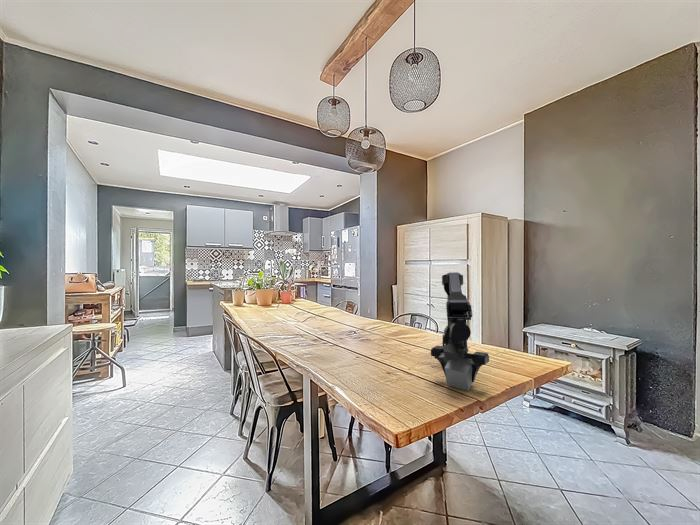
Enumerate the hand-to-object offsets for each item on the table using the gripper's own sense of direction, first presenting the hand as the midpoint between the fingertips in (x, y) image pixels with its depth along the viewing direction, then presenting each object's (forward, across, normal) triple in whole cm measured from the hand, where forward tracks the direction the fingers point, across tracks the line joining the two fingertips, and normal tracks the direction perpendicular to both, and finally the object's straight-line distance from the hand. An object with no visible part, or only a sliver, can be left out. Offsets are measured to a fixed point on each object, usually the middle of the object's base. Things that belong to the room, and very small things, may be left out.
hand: (459, 379), depth 106 cm
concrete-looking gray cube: (+1, 0, +2) cm, 2 cm away
